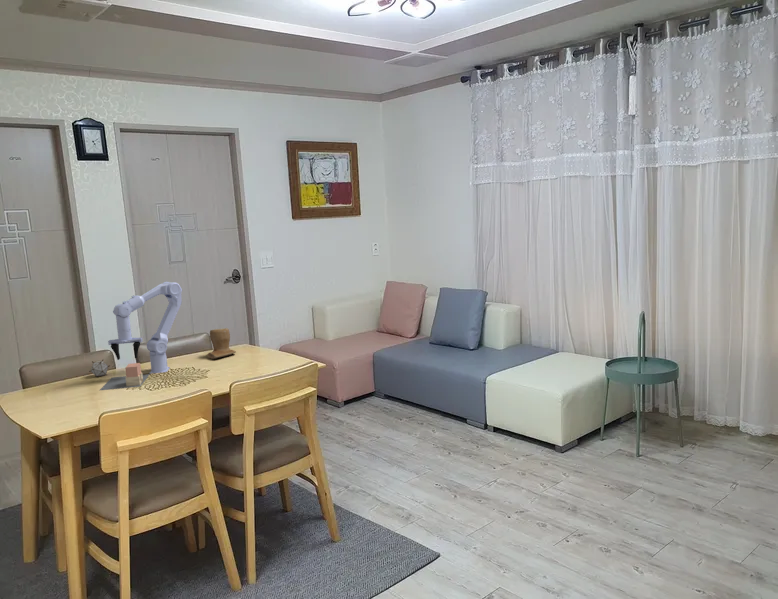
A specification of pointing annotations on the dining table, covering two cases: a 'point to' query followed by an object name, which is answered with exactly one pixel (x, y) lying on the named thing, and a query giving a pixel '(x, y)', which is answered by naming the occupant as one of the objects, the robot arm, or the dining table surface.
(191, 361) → the dining table surface
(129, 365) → the terracotta block
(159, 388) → the dining table surface
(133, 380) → the maple block
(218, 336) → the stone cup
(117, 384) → the mat
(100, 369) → the game die
